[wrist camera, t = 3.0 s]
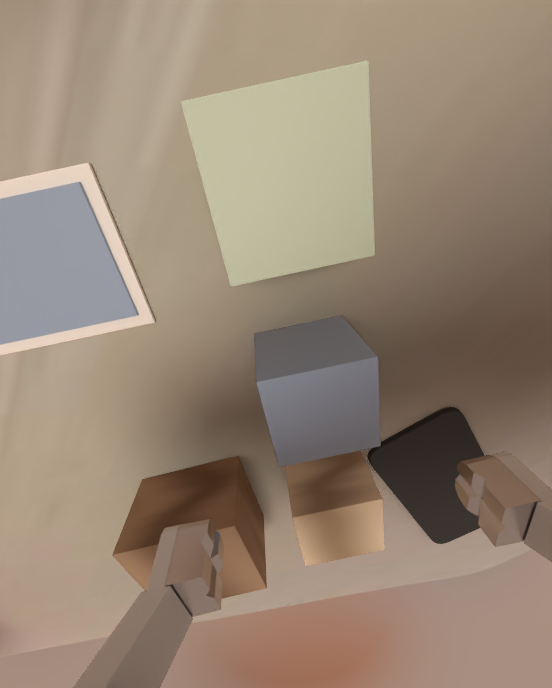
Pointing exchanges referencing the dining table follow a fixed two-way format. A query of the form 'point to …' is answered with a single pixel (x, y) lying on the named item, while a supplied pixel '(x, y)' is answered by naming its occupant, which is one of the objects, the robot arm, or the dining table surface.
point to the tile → (63, 262)
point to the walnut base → (194, 505)
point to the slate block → (318, 390)
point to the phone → (430, 472)
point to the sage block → (288, 171)
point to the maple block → (335, 508)
